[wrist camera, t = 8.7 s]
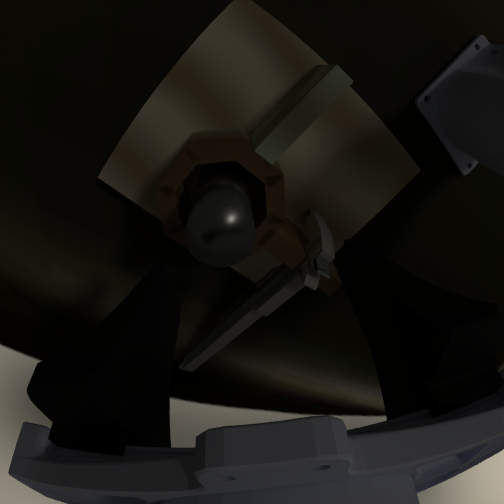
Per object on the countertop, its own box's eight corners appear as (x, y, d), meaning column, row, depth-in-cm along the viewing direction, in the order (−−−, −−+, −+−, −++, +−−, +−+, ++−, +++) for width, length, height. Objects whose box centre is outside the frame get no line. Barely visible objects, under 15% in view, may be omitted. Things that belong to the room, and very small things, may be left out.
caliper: (307, 203, 22) (333, 252, 17) (319, 211, 23) (346, 260, 17) (178, 363, 31) (173, 416, 26) (187, 367, 31) (184, 420, 26)
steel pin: (245, 154, 20) (254, 201, 13) (247, 198, 21) (257, 264, 14) (197, 157, 20) (179, 207, 13) (202, 201, 21) (189, 269, 14)
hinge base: (240, -4, 15) (242, -25, 11) (414, 165, 21) (450, 191, 17) (102, 172, 20) (73, 201, 16) (280, 292, 27) (288, 336, 23)
